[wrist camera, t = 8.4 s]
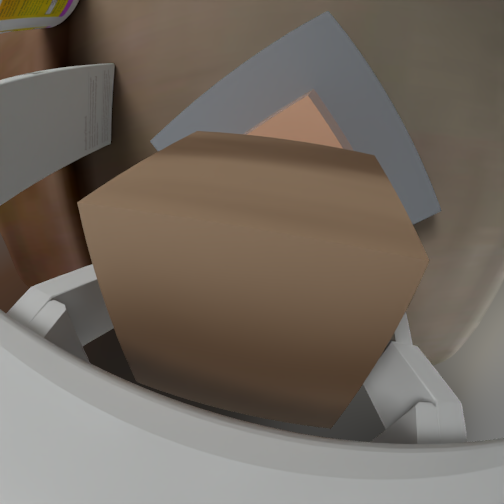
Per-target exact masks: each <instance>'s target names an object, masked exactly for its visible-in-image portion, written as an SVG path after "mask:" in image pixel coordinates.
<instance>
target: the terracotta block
mask: <svg viewBox="0 0 504 504" xmlns="http://www.w3.org/2000/svg"><path fill="white" fill-rule="evenodd" d="M244 135H254V136H263V137H272V138H279V139H287V140H294V141H301V142H307V143H314V144H320V145H325V146H331V147H336V148H342V149H347V150H352V151H354V150H353V148H352V147H351V145H350V143H349V142H348V140H347V138H346V137H345V135H344V133H343V132H342V130H341V129H340V127H339V125H338V124H337V122H336V121H335V119H334V118H333V116H332V115H331V113H330V112H329V110H328V109H327V107H326V106H325V104H324V103H323V101H322V100H321V98H320V97H319V95H318V94H317V93H316V91H315V90H314V89H312V90H310V91H309V92H307V93H305V94H304V95H302V96H300V97H299V98H297V99H295V100H294V101H292V102H291V103H289V104H287V105H286V106H284V107H283V108H281V109H280V110H278V111H276V112H275V113H273V114H272V115H270V116H269V117H267V118H266V119H264V120H263V121H261V122H260V123H258V124H257V125H255V126H254V127H252V128H251V129H249V130H248V131H246V132H245V133H244Z"/></svg>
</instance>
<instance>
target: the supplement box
mask: <svg viewBox="0 0 504 504" xmlns="http://www.w3.org/2000/svg"><path fill="white" fill-rule="evenodd" d="M114 68H115V65H114V64H113V63H108V64H93V65H80V66H70V67H62V68H55V69H48V70H43V71H37V72H32V73H27V74H23V75H19V76H14V77H10V78H6V79H3V80H0V205H2V204H3V203H5V202H6V201H8V200H9V199H11V198H12V197H14V196H15V195H17V194H18V193H20V192H22V191H23V190H25V189H26V188H28V187H30V186H31V185H33V184H35V183H36V182H38V181H40V180H41V179H43V178H45V177H46V176H48V175H50V174H52V173H54V172H55V171H57V170H59V169H61V168H63V167H65V166H66V165H68V164H70V163H72V162H74V161H76V160H78V159H80V158H82V157H84V156H86V155H88V154H90V153H92V152H94V151H96V150H98V149H100V148H102V147H105V146H107V145H109V144H111V121H112V100H113V83H114Z"/></svg>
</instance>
